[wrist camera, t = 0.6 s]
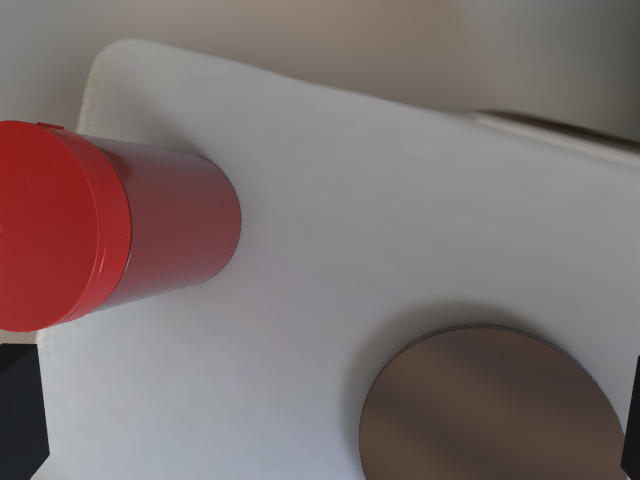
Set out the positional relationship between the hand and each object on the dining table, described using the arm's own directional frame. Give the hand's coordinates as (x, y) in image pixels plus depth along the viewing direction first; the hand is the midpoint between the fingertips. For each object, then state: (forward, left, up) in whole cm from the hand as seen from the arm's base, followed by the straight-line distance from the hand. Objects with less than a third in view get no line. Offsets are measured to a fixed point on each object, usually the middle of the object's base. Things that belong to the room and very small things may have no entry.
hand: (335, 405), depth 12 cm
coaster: (+7, +5, -17) cm, 19 cm away
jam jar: (0, -15, -17) cm, 23 cm away
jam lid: (0, -15, -5) cm, 16 cm away
